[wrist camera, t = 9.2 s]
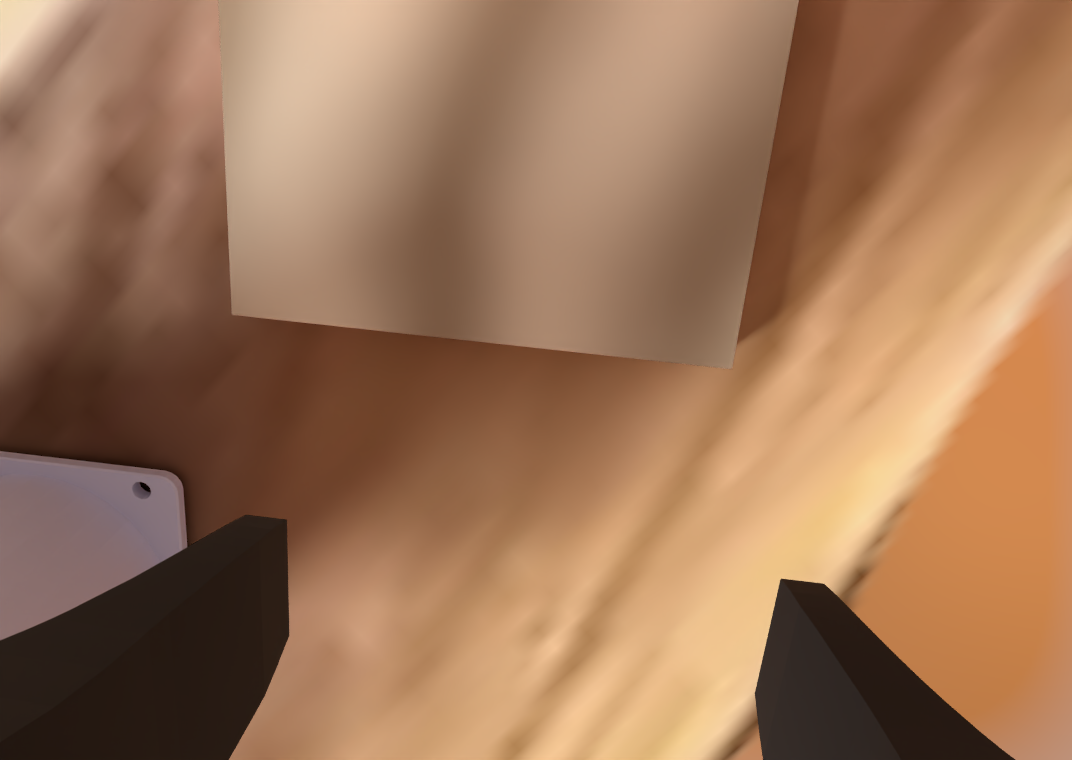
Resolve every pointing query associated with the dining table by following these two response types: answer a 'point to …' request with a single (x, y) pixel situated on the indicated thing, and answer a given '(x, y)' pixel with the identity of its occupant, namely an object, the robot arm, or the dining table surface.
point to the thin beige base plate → (503, 167)
